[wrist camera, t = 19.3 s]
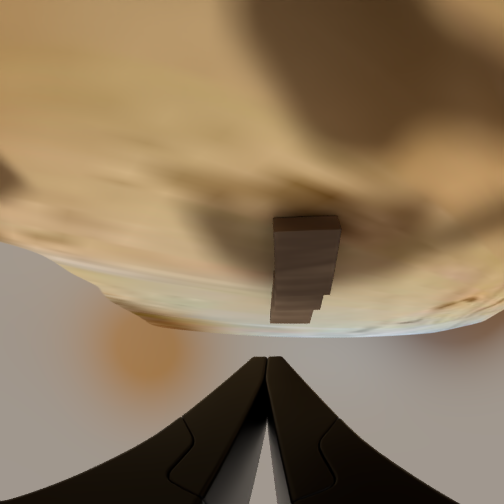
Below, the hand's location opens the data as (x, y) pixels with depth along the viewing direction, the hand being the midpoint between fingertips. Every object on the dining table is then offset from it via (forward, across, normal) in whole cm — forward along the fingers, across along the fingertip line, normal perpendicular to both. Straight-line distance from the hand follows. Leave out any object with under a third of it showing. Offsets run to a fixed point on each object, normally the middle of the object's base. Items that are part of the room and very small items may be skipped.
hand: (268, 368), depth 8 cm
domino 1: (+15, +3, +1) cm, 15 cm away
